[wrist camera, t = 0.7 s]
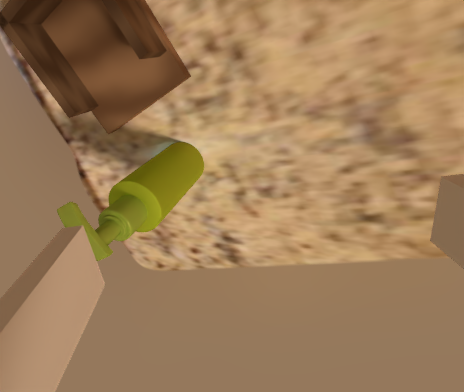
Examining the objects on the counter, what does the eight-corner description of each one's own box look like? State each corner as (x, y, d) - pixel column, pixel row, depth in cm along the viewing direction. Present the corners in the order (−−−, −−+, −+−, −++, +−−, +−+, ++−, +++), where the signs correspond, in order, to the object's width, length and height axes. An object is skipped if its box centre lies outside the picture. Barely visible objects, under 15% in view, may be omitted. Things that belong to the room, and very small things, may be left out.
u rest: (24, 5, 38) (-22, 0, 33) (95, -82, 32) (52, -105, 27) (114, 131, 43) (86, 144, 38) (190, 76, 37) (169, 82, 32)
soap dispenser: (184, 127, 40) (81, 195, 23) (211, 172, 42) (136, 265, 25) (151, 147, 43) (37, 221, 26) (179, 188, 45) (90, 283, 27)
